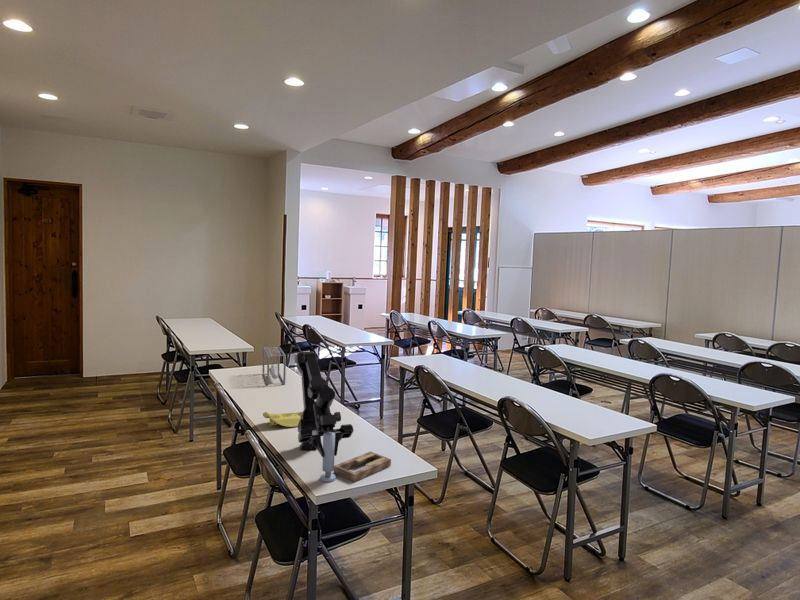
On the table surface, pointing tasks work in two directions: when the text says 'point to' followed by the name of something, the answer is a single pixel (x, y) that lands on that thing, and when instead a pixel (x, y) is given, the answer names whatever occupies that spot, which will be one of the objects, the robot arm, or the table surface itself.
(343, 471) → the keyhole block
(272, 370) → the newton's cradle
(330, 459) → the slate peg
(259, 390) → the table surface
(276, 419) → the banana
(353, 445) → the table surface
